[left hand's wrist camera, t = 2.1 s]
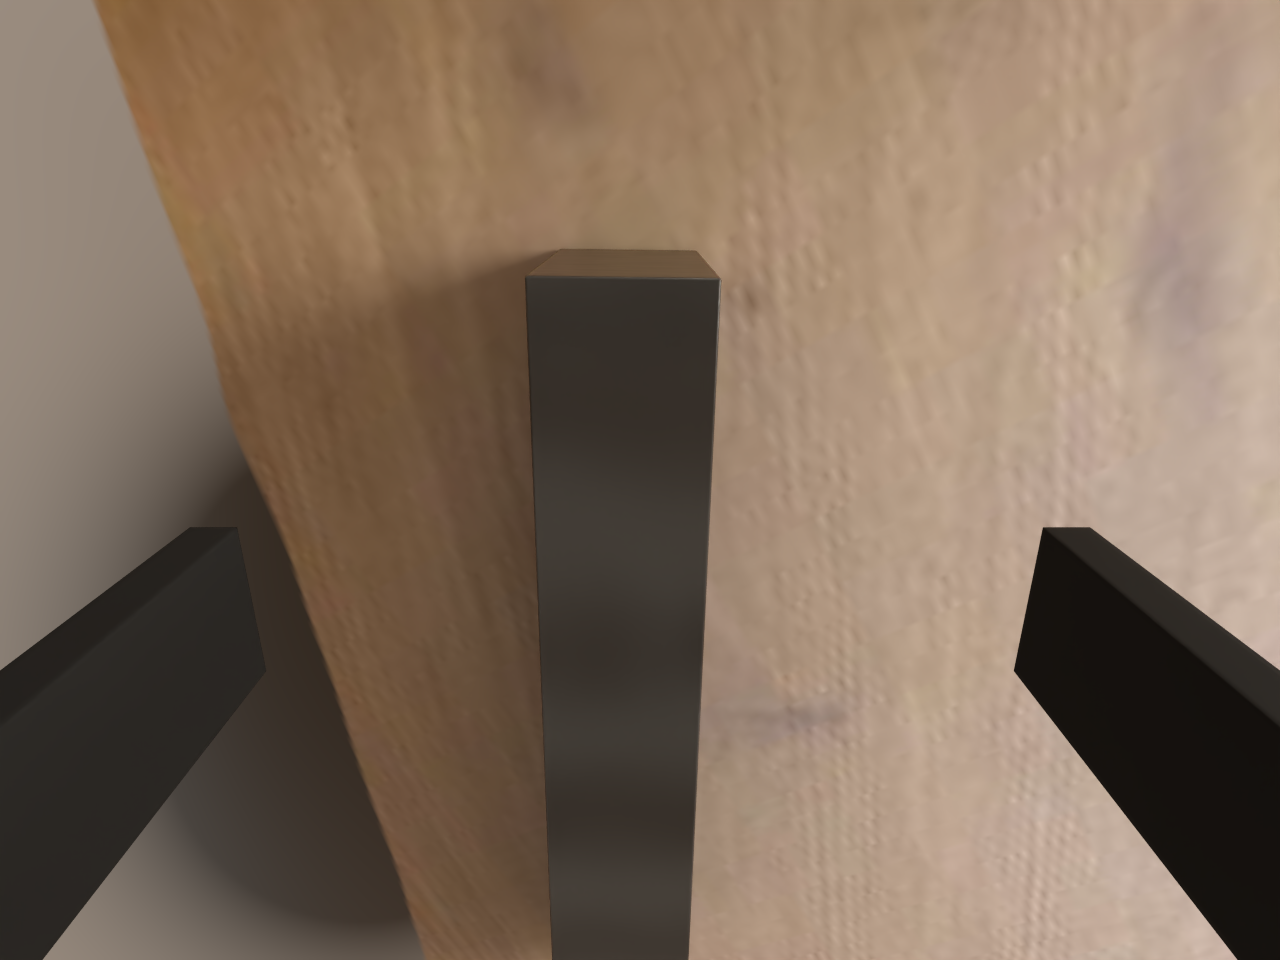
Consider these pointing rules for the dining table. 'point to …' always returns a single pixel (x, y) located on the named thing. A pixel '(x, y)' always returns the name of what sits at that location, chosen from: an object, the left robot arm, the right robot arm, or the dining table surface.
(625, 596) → the beam
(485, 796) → the dining table surface
